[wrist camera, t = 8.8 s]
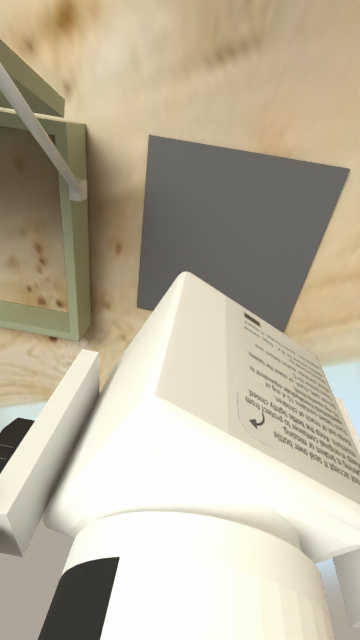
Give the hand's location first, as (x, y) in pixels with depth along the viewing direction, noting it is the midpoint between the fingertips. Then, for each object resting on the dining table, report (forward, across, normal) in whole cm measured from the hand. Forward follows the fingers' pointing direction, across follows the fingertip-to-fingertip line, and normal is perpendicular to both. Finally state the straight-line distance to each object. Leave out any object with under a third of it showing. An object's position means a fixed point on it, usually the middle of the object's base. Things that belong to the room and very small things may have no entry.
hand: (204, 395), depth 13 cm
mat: (+21, -1, 0) cm, 21 cm away
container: (+2, 0, 0) cm, 2 cm away
